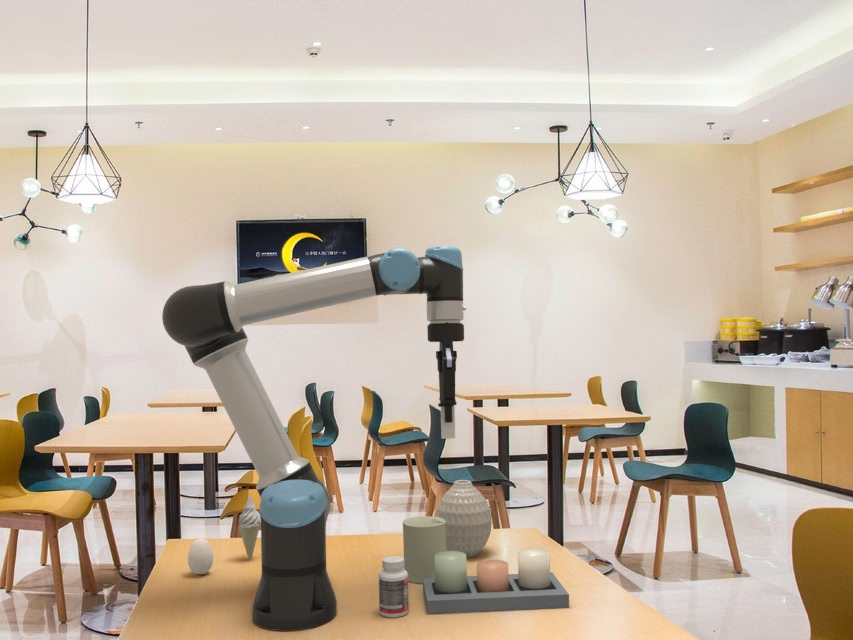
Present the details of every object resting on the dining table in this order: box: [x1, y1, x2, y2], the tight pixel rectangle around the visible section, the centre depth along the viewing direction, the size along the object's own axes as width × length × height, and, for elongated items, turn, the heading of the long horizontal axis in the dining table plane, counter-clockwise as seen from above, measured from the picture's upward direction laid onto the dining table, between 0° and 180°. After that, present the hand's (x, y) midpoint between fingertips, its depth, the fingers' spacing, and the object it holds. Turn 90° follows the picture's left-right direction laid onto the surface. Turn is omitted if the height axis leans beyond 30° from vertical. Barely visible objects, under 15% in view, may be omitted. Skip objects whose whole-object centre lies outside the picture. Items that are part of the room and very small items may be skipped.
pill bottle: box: [378, 555, 410, 618], centre depth 137 cm, size 5×5×10 cm
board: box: [422, 571, 570, 615], centre depth 143 cm, size 26×13×2 cm, turn 94°
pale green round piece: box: [435, 550, 468, 593], centre depth 143 cm, size 6×6×6 cm
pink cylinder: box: [476, 559, 509, 593], centre depth 143 cm, size 6×6×6 cm
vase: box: [435, 479, 493, 559], centre depth 173 cm, size 13×13×17 cm
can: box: [402, 515, 447, 585], centre depth 157 cm, size 9×9×12 cm
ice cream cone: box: [237, 494, 261, 561], centre depth 172 cm, size 5×5×15 cm
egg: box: [187, 538, 214, 575], centre depth 162 cm, size 5×5×8 cm
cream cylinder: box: [517, 547, 551, 589], centre depth 144 cm, size 6×6×6 cm
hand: (448, 437), depth 153 cm, fingers closed
